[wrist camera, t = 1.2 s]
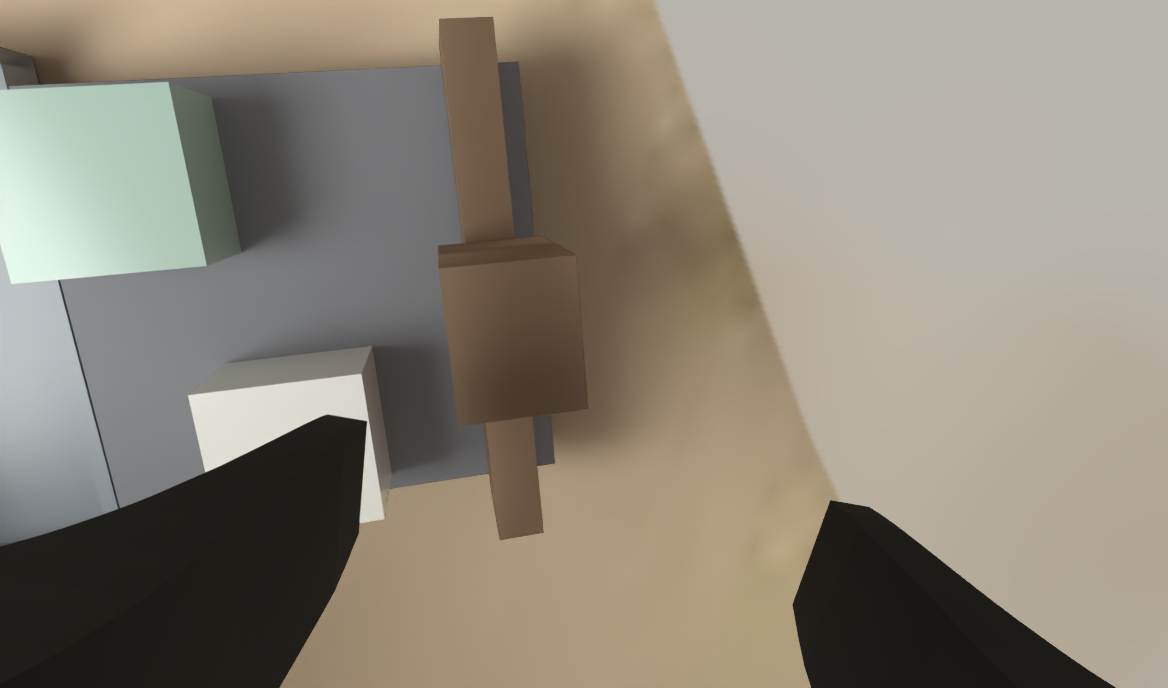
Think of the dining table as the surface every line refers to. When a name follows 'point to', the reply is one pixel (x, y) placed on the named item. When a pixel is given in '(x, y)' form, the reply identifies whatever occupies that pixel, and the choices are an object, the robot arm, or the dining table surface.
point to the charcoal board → (303, 270)
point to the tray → (44, 400)
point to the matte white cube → (294, 410)
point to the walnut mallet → (502, 289)
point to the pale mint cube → (111, 182)
